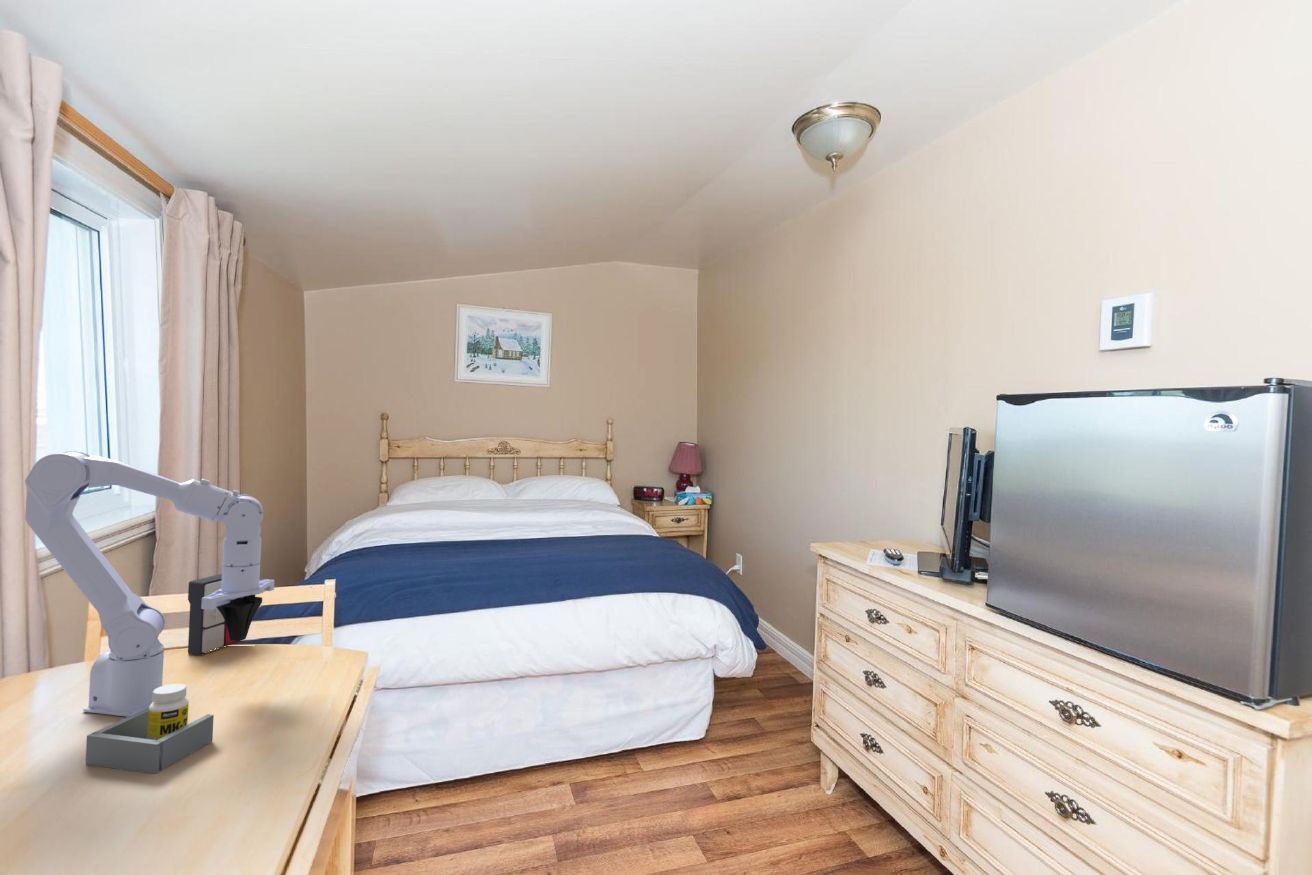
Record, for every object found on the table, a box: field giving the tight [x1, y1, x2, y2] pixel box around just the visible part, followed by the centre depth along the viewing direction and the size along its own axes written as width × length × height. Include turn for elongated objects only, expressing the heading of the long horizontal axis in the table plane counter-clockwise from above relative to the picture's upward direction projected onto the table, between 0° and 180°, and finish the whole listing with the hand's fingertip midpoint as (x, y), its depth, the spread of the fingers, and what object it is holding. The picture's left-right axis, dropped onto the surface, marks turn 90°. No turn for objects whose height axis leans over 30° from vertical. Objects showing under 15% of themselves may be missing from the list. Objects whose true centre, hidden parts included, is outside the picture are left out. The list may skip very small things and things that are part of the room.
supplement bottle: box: [146, 683, 190, 740], centre depth 95 cm, size 5×5×8 cm
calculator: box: [187, 573, 240, 656], centre depth 136 cm, size 11×4×15 cm, turn 168°
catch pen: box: [85, 708, 215, 775], centre depth 93 cm, size 11×10×4 cm
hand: (238, 639), depth 115 cm, fingers closed
